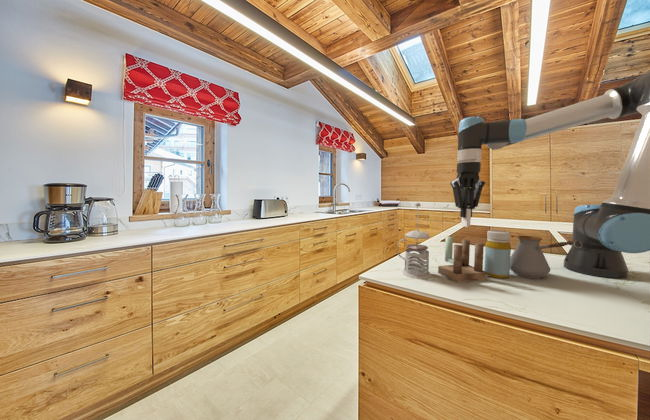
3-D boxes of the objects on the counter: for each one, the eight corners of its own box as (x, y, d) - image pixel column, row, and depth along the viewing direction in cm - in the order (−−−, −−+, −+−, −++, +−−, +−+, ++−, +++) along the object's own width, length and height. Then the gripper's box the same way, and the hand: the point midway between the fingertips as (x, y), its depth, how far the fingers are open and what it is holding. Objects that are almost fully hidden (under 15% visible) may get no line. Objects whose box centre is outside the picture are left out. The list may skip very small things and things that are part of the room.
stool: (465, 270, 88) (466, 239, 87) (486, 279, 79) (487, 244, 78) (438, 272, 86) (438, 240, 85) (456, 282, 77) (457, 246, 76)
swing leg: (463, 265, 85) (464, 240, 84) (457, 266, 85) (458, 240, 84) (449, 259, 92) (449, 236, 91) (443, 260, 92) (444, 236, 91)
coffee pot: (498, 269, 89) (500, 228, 88) (528, 268, 89) (531, 227, 88) (556, 294, 68) (559, 241, 66) (595, 293, 68) (600, 240, 67)
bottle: (500, 271, 86) (503, 229, 85) (514, 279, 79) (516, 233, 78) (480, 271, 87) (481, 229, 86) (491, 278, 80) (493, 233, 79)
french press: (433, 280, 80) (434, 203, 77) (396, 276, 83) (396, 203, 81) (430, 270, 89) (431, 201, 87) (397, 267, 93) (397, 201, 90)
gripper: (476, 163, 94) (472, 224, 96) (445, 162, 91) (443, 225, 94) (492, 161, 86) (489, 227, 89) (460, 160, 84) (457, 228, 86)
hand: (465, 226), depth 91 cm, fingers closed
